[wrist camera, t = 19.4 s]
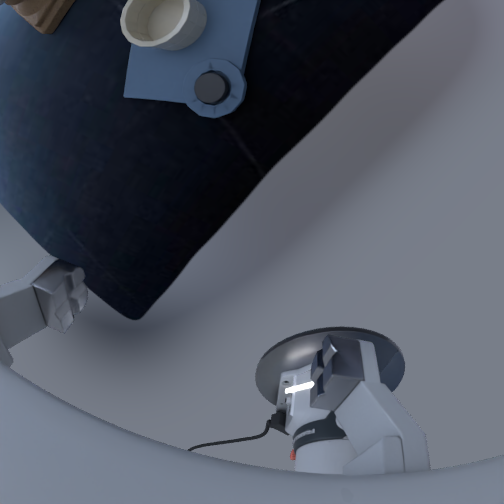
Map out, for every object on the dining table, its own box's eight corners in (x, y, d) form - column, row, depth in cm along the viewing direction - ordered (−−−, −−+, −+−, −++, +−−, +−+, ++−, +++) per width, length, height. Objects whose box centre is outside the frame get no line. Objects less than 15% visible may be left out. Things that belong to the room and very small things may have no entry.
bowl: (200, 53, 23) (181, 47, 19) (141, 50, 23) (115, 47, 19) (213, -5, 20) (196, -20, 16) (153, -5, 20) (128, -16, 16)
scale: (243, 118, 28) (237, 122, 25) (130, 103, 28) (115, 106, 26) (271, -5, 21) (268, -15, 18) (151, -10, 21) (138, -17, 18)
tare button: (225, 104, 25) (222, 105, 24) (196, 99, 25) (191, 100, 24) (231, 75, 23) (227, 75, 22) (201, 71, 23) (196, 71, 22)
